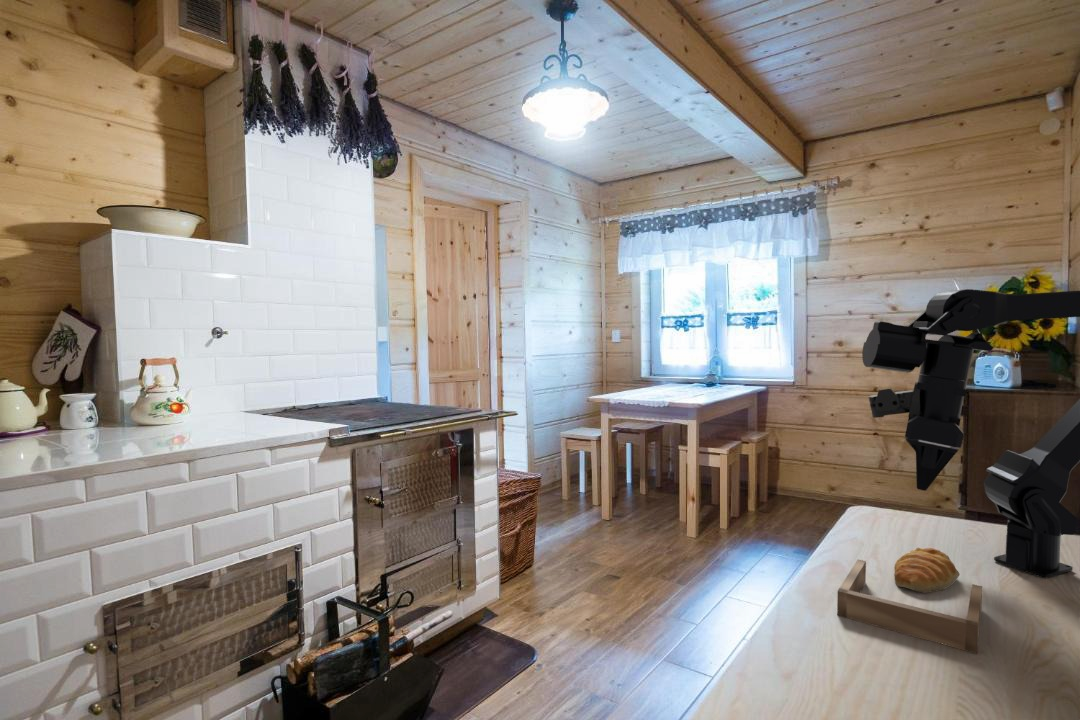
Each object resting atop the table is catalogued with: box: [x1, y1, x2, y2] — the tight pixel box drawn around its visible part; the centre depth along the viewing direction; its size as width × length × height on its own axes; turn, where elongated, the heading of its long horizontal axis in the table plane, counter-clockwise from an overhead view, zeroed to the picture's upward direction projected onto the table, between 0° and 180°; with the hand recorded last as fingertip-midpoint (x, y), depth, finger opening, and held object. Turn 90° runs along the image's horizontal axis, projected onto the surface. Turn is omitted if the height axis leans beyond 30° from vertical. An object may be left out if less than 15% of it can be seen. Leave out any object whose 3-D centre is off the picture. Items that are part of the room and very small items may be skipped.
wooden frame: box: [836, 559, 983, 654], centre depth 70 cm, size 12×14×3 cm
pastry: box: [893, 547, 960, 594], centre depth 78 cm, size 9×7×4 cm
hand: (921, 483), depth 84 cm, fingers open, 9 cm apart
